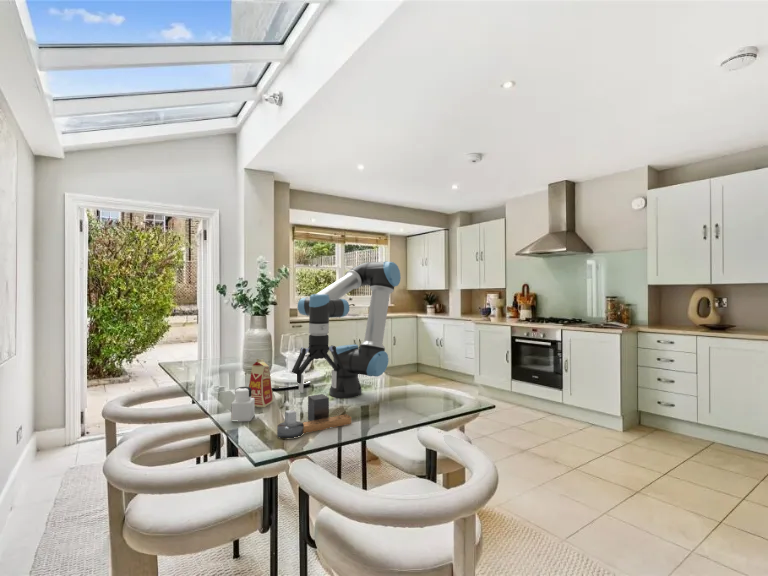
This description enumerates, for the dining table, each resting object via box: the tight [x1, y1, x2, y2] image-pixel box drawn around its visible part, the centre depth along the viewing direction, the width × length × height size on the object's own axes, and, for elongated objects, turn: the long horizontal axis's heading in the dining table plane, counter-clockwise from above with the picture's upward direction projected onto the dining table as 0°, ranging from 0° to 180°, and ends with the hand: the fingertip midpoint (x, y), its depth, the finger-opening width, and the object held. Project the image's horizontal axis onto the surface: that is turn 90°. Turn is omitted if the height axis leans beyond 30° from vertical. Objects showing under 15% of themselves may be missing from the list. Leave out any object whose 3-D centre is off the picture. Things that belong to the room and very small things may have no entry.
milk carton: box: [248, 358, 274, 408], centre depth 176 cm, size 9×9×20 cm
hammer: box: [276, 409, 352, 439], centre depth 147 cm, size 28×9×8 cm, turn 123°
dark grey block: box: [307, 393, 330, 421], centre depth 156 cm, size 6×6×9 cm
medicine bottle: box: [230, 386, 255, 422], centre depth 157 cm, size 7×7×12 cm
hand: (317, 389), depth 155 cm, fingers open, 13 cm apart
